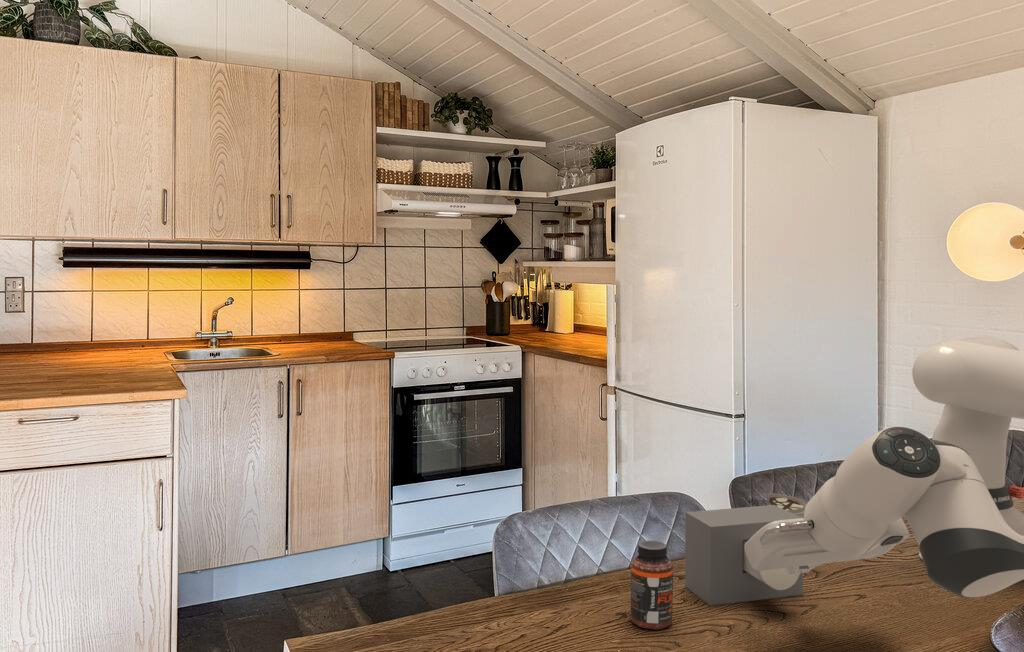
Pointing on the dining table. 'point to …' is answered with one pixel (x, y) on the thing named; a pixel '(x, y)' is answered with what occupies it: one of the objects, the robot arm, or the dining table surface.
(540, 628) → the dining table surface
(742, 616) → the dining table surface
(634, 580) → the supplement bottle
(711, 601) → the knob mount
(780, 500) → the food container
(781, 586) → the push knob
